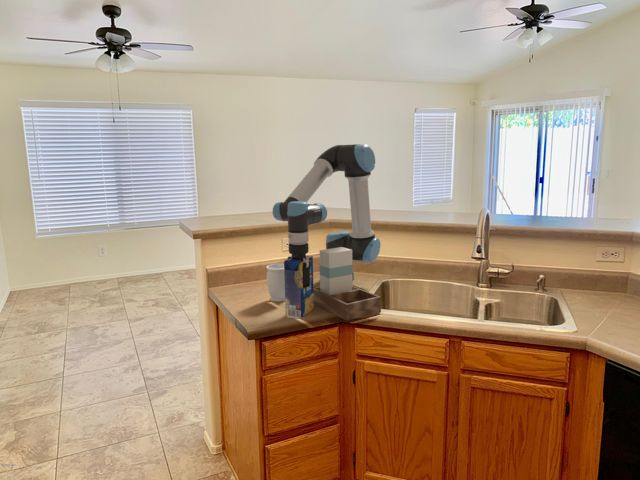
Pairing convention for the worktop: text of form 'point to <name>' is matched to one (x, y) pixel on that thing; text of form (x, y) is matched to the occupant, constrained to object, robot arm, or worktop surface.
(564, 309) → the worktop surface
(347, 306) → the bin
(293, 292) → the blue food box
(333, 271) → the banded carton
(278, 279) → the jar
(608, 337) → the worktop surface
